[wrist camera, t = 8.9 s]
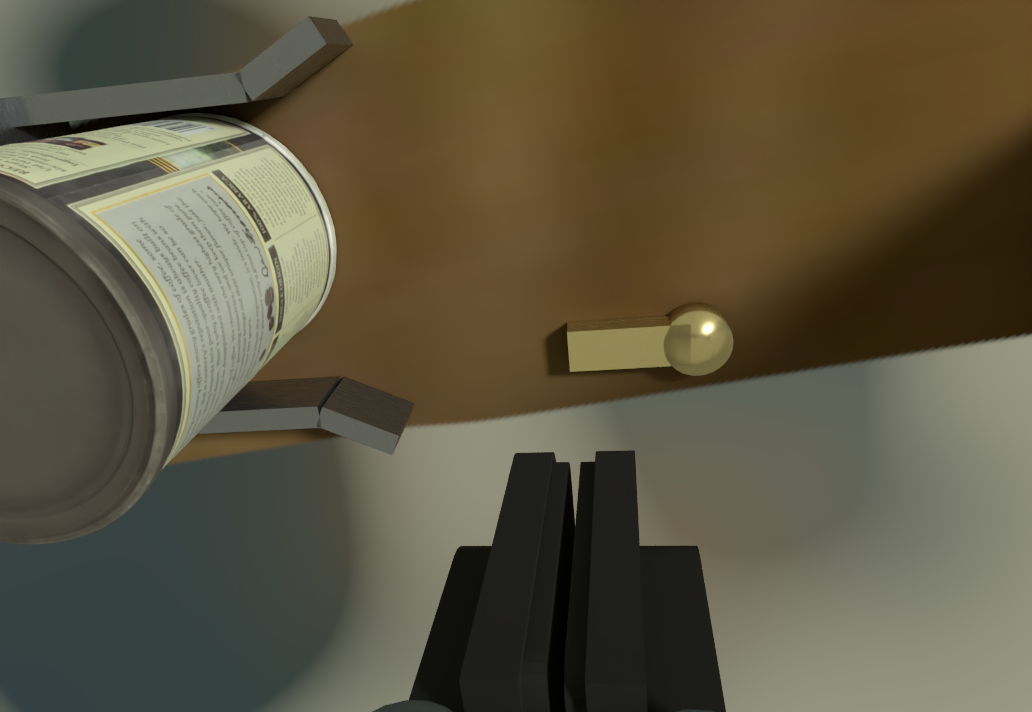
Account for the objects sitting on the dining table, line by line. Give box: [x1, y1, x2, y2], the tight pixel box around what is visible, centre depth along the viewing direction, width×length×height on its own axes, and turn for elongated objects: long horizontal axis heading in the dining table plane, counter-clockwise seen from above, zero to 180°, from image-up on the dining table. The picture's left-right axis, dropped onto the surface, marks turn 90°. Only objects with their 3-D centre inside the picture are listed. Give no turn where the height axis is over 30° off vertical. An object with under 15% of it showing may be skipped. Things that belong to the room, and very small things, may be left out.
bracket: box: [0, 16, 414, 454], centre depth 29 cm, size 13×17×4 cm
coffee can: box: [0, 113, 337, 544], centre depth 24 cm, size 10×10×14 cm
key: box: [567, 303, 733, 376], centre depth 30 cm, size 7×3×1 cm, turn 96°
